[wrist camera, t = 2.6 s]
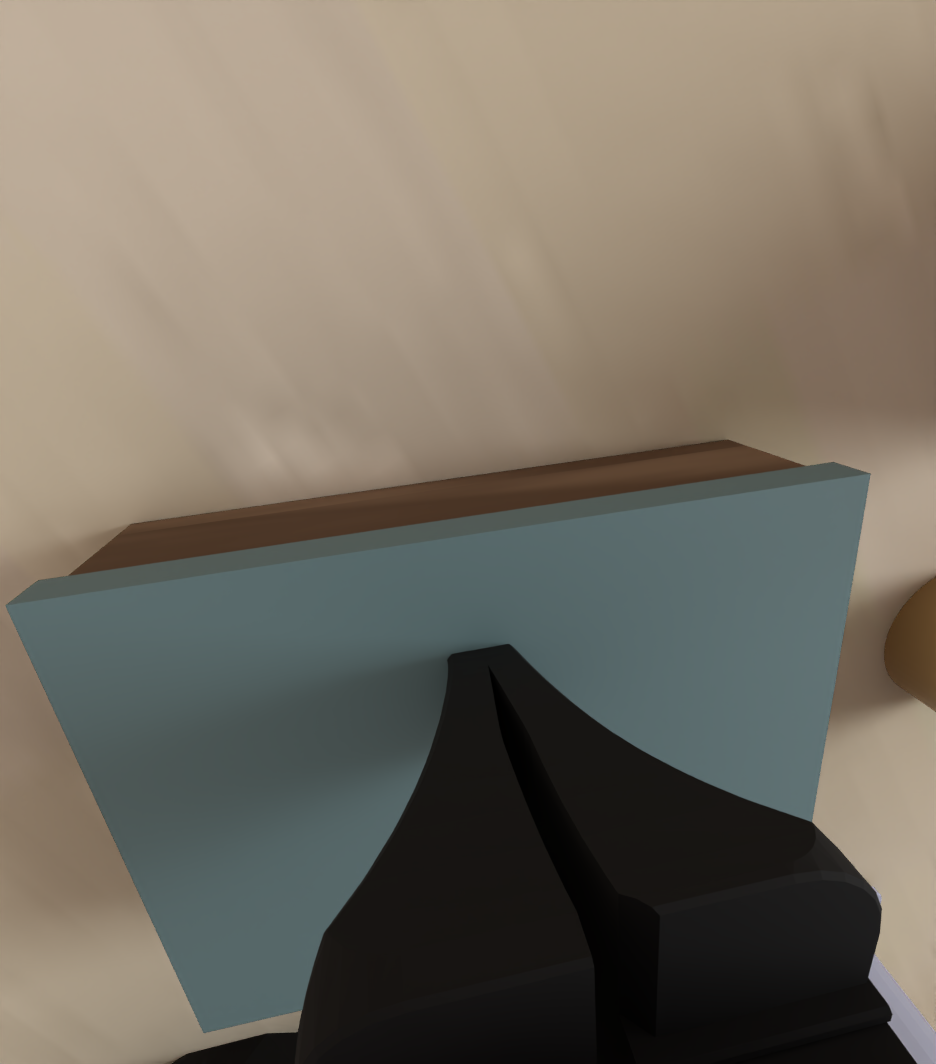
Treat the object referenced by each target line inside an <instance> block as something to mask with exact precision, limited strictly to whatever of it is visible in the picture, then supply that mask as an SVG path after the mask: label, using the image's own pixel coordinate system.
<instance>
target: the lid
mask: <svg viewBox="0 0 936 1064" xmlns="http://www.w3.org/2000/svg"><path fill="white" fill-rule="evenodd" d="M869 480H870V473H867V472H863V471H860V470H857V469H854V468H851V467H848V466H844V465H841V464H838V463H835V462H831V463H824V464H817V465H810V466H804V467H797V468H790V469H784V470H777V471H770V472H763V473H757V474H750V475H743V476H737V477H730V478H723V479H716V480H710V481H703V482H696V483H690V484H683V485H676V486H669V487H663V488H656V489H649V490H642V491H636V492H629V493H622V494H616V495H609V496H602V497H595V498H589V499H582V500H575V501H569V502H562V503H555V504H548V505H542V506H535V507H528V508H522V509H515V510H508V511H501V512H495V513H488V514H481V515H475V516H468V517H461V518H454V519H448V520H441V521H434V522H428V523H421V524H414V525H407V526H401V527H394V528H387V529H380V530H374V531H367V532H360V533H354V534H347V535H340V536H333V537H327V538H320V539H313V540H307V541H300V542H293V543H286V544H280V545H273V546H266V547H260V548H253V549H246V550H239V551H233V552H226V553H219V554H213V555H206V556H199V557H192V558H186V559H179V560H172V561H166V562H159V563H152V564H145V565H139V566H132V567H125V568H118V569H112V570H105V571H98V572H92V573H85V574H78V575H71V576H65V577H58V578H51V579H45V580H38V581H37V582H35V583H34V584H33V585H31V586H30V587H29V588H27V589H26V590H25V591H24V592H22V593H21V594H20V595H18V596H17V597H16V598H14V599H13V600H12V601H11V602H9V603H8V604H7V605H5V606H6V608H7V610H8V612H9V614H10V617H11V619H12V621H13V623H14V625H15V627H16V630H17V632H18V634H19V636H20V638H21V640H22V642H23V645H24V647H25V649H26V651H27V653H28V655H29V658H30V660H31V662H32V664H33V666H34V668H35V671H36V673H37V675H38V677H39V679H40V681H41V683H42V686H43V688H44V690H45V692H46V694H47V696H48V699H49V701H50V703H51V705H52V707H53V709H54V711H55V714H56V716H57V718H58V720H59V722H60V724H61V727H62V729H63V731H64V733H65V735H66V737H67V739H68V742H69V744H70V746H71V748H72V750H73V752H74V755H75V757H76V759H77V761H78V763H79V765H80V768H81V770H82V772H83V774H84V776H85V778H86V780H87V783H88V785H89V787H90V789H91V791H92V793H93V796H94V798H95V800H96V802H97V804H98V806H99V808H100V811H101V813H102V815H103V817H104V819H105V821H106V824H107V826H108V828H109V830H110V832H111V834H112V837H113V839H114V841H115V843H116V845H117V847H118V849H119V852H120V854H121V856H122V858H123V860H124V862H125V865H126V867H127V869H128V871H129V873H130V875H131V877H132V880H133V882H134V884H135V886H136V888H137V890H138V893H139V895H140V897H141V899H142V901H143V903H144V906H145V908H146V910H147V912H148V914H149V916H150V918H151V921H152V923H153V925H154V927H155V929H156V931H157V934H158V936H159V938H160V940H161V942H162V944H163V946H164V949H165V951H166V953H167V955H168V957H169V959H170V962H171V964H172V966H173V968H174V970H175V972H176V974H177V977H178V979H179V981H180V983H181V985H182V987H183V990H184V992H185V994H186V996H187V998H188V1000H189V1003H190V1005H191V1007H192V1009H193V1011H194V1013H195V1015H196V1018H197V1020H198V1022H199V1024H200V1026H201V1028H202V1031H203V1033H206V1032H211V1031H215V1030H219V1029H223V1028H228V1027H232V1026H236V1025H241V1024H245V1023H249V1022H253V1021H258V1020H262V1019H266V1018H271V1017H275V1016H279V1015H283V1014H288V1013H292V1012H296V1011H301V1010H302V1009H303V1004H304V1000H305V995H306V991H307V987H308V983H309V979H310V976H311V972H312V968H313V965H314V962H315V959H316V955H317V952H318V949H319V946H320V943H321V940H322V937H323V934H324V932H325V930H326V929H327V928H328V927H329V925H330V924H331V923H332V921H333V920H334V918H335V917H336V916H337V914H338V913H339V912H340V910H341V909H342V908H343V906H344V905H345V904H346V902H347V901H348V899H349V898H350V897H351V895H352V894H353V893H354V891H355V890H356V889H357V887H358V886H359V885H360V883H361V882H362V880H363V879H364V877H365V876H366V874H367V873H368V871H369V870H370V868H371V866H372V865H373V863H374V861H375V860H376V858H377V857H378V855H379V853H380V852H381V850H382V848H383V847H384V845H385V844H386V842H387V840H388V839H389V837H390V835H391V834H392V832H393V830H394V828H395V827H396V825H397V823H398V821H399V819H400V817H401V815H402V813H403V811H404V809H405V807H406V805H407V803H408V801H409V799H410V797H411V795H412V793H413V791H414V789H415V787H416V784H417V782H418V780H419V777H420V775H421V773H422V770H423V768H424V765H425V763H426V760H427V757H428V755H429V752H430V749H431V746H432V743H433V739H434V736H435V733H436V730H437V727H438V724H439V720H440V716H441V712H442V707H443V703H444V698H445V693H446V687H447V679H448V662H447V659H448V658H449V657H450V655H451V654H454V653H459V652H465V651H471V650H477V649H482V648H488V647H494V646H499V645H505V644H510V645H512V646H513V647H514V648H515V649H516V650H517V651H518V652H519V653H520V654H521V655H522V656H523V657H524V658H525V659H526V660H527V661H528V662H529V663H530V664H531V665H532V666H533V667H534V668H535V669H536V670H537V671H538V672H539V673H540V674H541V675H542V676H543V677H544V678H545V679H546V680H547V681H548V682H550V683H551V684H552V685H553V686H554V687H555V688H556V689H558V690H559V691H560V692H561V693H562V694H563V695H565V696H566V697H567V698H568V699H569V700H570V701H572V702H573V703H574V704H575V705H577V706H578V707H579V708H580V709H582V710H583V711H584V712H586V713H587V714H588V715H589V716H591V717H592V718H593V719H595V720H596V721H597V722H599V723H600V724H602V725H603V726H604V727H606V728H607V729H609V730H610V731H612V732H613V733H615V734H616V735H618V736H619V737H621V738H623V739H624V740H626V741H627V742H629V743H631V744H632V745H634V746H635V747H637V748H639V749H641V750H642V751H644V752H646V753H648V754H649V755H651V756H653V757H655V758H657V759H659V760H661V761H663V762H665V763H667V764H669V765H670V766H672V767H674V768H676V769H678V770H680V771H682V772H684V773H686V774H688V775H691V776H693V777H695V778H697V779H699V780H701V781H704V782H706V783H708V784H711V785H713V786H715V787H718V788H720V789H722V790H725V791H727V792H730V793H732V794H734V795H737V796H739V797H742V798H744V799H747V800H750V801H753V802H755V803H758V804H761V805H764V806H767V807H770V808H773V809H776V810H779V811H782V812H784V813H787V814H790V815H793V816H796V817H799V818H802V819H805V820H808V821H811V822H812V818H813V812H814V806H815V800H816V794H817V788H818V782H819V776H820V770H821V764H822V759H823V753H824V747H825V741H826V735H827V729H828V723H829V717H830V711H831V705H832V699H833V693H834V688H835V682H836V676H837V670H838V664H839V658H840V652H841V646H842V640H843V634H844V628H845V622H846V616H847V611H848V605H849V599H850V593H851V587H852V581H853V575H854V569H855V563H856V557H857V551H858V545H859V539H860V534H861V528H862V522H863V516H864V510H865V504H866V498H867V492H868V486H869Z"/></svg>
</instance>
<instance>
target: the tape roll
mask: <svg viewBox="0 0 936 1064" xmlns="http://www.w3.org/2000/svg"><path fill="white" fill-rule="evenodd" d="M884 660H885V666H886V669H887V672H888V674H889V676H890V677H891V679H892V680H893V681H894V682H895V683H896V684H897V685H898V686H900V687H901V688H903V689H904V690H905V691H907V692H908V693H910V694H911V695H913V696H914V697H915V698H917V699H918V700H920V701H921V702H923V703H924V704H925V705H927V706H928V707H930V708H931V709H932V710H934V711H935V712H936V577H935V578H934V579H932V580H931V581H929V582H928V583H927V584H925V585H924V586H923V587H921V588H920V589H919V590H918V591H917V592H916V593H915V594H914V595H913V596H912V597H911V598H910V599H909V600H908V601H907V602H906V604H905V605H904V606H903V607H902V609H901V610H900V612H899V613H898V615H897V616H896V618H895V620H894V622H893V624H892V626H891V628H890V630H889V633H888V636H887V639H886V643H885V651H884Z"/></svg>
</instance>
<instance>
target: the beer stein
mask: <svg viewBox="0 0 936 1064" xmlns="http://www.w3.org/2000/svg"><path fill="white" fill-rule="evenodd" d="M297 1037H298V1033H271V1034H264V1035H260V1036H256V1037H252V1038H248V1039H244V1040H240V1041H236V1042H232V1043H229V1044H225V1045H221V1046H217V1047H213V1048H209V1049H205V1050H201V1051H197V1052H193V1053H189V1054H186V1055H185V1056H183V1057H182V1058H180V1059H178V1060H177V1061H175V1062H173V1063H172V1064H295V1055H296V1046H297Z"/></svg>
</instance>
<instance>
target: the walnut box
mask: <svg viewBox="0 0 936 1064" xmlns="http://www.w3.org/2000/svg"><path fill="white" fill-rule="evenodd" d="M797 467H804V465H801V464H798V463H795V462H792V461H789V460H786V459H783V458H780V457H778V456H775V455H772V454H769V453H766V452H763V451H760V450H757V449H754V448H751V447H748V446H745V445H742V444H739V443H736V442H733V441H730V440H723V441H716V442H709V443H702V444H695V445H687V446H680V447H673V448H666V449H659V450H652V451H645V452H638V453H631V454H624V455H617V456H610V457H603V458H596V459H589V460H581V461H574V462H567V463H560V464H553V465H546V466H539V467H532V468H525V469H518V470H511V471H504V472H497V473H490V474H482V475H475V476H468V477H461V478H454V479H447V480H440V481H433V482H426V483H419V484H412V485H405V486H398V487H391V488H384V489H376V490H369V491H362V492H355V493H348V494H341V495H334V496H327V497H320V498H313V499H306V500H299V501H292V502H285V503H277V504H270V505H263V506H256V507H249V508H242V509H235V510H228V511H221V512H214V513H207V514H200V515H193V516H186V517H178V518H171V519H164V520H157V521H150V522H143V523H136V524H131V525H129V526H128V527H127V528H126V529H125V530H123V531H122V532H121V533H120V534H119V535H117V536H116V537H115V538H114V539H112V540H111V541H110V542H109V543H108V544H106V545H105V546H104V547H103V548H101V549H100V550H99V551H98V552H97V553H95V554H94V555H93V556H92V557H90V558H89V559H88V560H87V561H86V562H84V563H83V564H82V565H81V566H80V567H78V568H77V569H76V570H75V571H73V572H72V573H71V574H70V575H69V576H71V575H78V574H85V573H92V572H98V571H105V570H112V569H118V568H125V567H132V566H139V565H145V564H152V563H159V562H166V561H172V560H179V559H186V558H192V557H199V556H206V555H213V554H219V553H226V552H233V551H239V550H246V549H253V548H260V547H266V546H273V545H280V544H286V543H293V542H300V541H307V540H313V539H320V538H327V537H333V536H340V535H347V534H354V533H360V532H367V531H374V530H380V529H387V528H394V527H401V526H407V525H414V524H421V523H428V522H434V521H441V520H448V519H454V518H461V517H468V516H475V515H481V514H488V513H495V512H501V511H508V510H515V509H522V508H528V507H535V506H542V505H548V504H555V503H562V502H569V501H575V500H582V499H589V498H595V497H602V496H609V495H616V494H622V493H629V492H636V491H642V490H649V489H656V488H663V487H669V486H676V485H683V484H690V483H696V482H703V481H710V480H716V479H723V478H730V477H737V476H743V475H750V474H757V473H763V472H770V471H777V470H784V469H790V468H797Z"/></svg>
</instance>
